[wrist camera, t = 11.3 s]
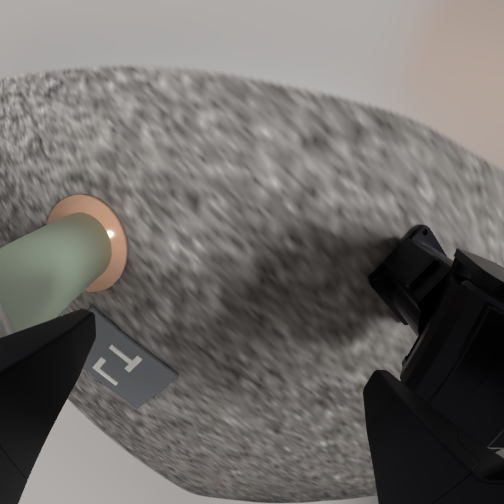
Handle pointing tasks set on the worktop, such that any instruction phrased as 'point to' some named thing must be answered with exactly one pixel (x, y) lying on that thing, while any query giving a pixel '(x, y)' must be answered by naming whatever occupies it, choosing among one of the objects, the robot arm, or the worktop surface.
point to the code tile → (125, 364)
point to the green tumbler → (50, 270)
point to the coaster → (111, 226)
